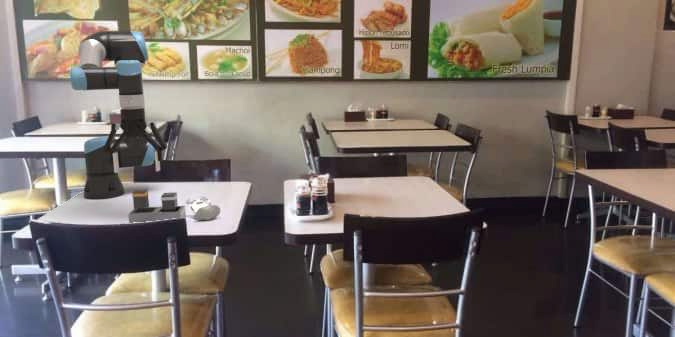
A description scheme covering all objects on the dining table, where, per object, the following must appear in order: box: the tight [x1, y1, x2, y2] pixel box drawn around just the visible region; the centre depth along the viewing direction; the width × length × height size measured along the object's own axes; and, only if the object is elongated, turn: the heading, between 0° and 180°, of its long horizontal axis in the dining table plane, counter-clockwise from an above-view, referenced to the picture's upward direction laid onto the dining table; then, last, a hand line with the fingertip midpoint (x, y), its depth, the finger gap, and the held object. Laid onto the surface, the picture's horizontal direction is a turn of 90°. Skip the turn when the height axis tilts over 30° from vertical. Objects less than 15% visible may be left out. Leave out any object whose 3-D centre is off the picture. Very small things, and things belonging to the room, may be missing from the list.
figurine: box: [185, 196, 221, 222], centre depth 192 cm, size 9×6×12 cm
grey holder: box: [128, 191, 187, 223], centre depth 183 cm, size 8×16×10 cm, turn 95°
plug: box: [132, 188, 150, 209], centre depth 194 cm, size 4×4×9 cm
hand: (137, 171), depth 191 cm, fingers open, 13 cm apart
